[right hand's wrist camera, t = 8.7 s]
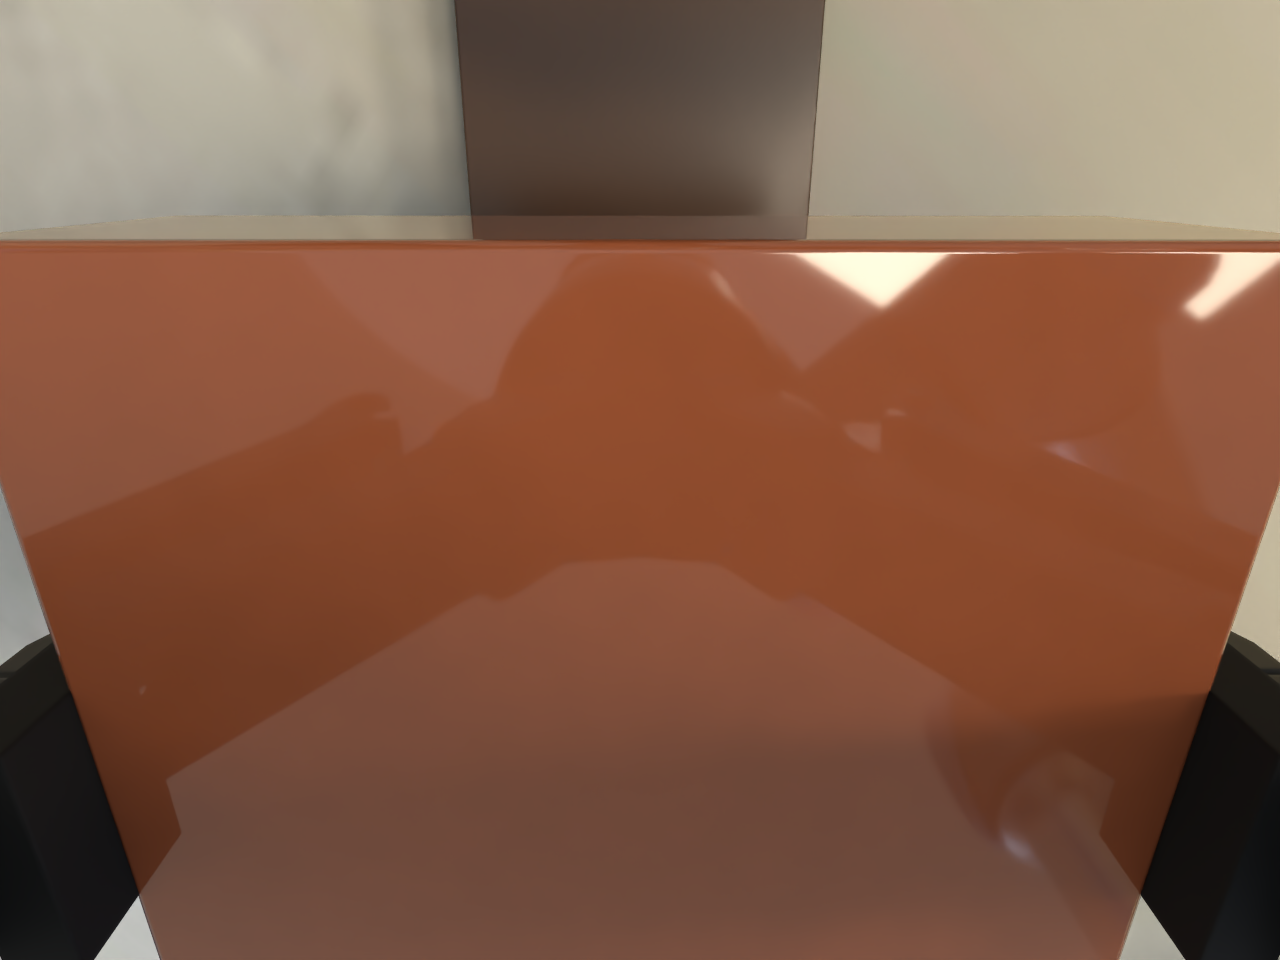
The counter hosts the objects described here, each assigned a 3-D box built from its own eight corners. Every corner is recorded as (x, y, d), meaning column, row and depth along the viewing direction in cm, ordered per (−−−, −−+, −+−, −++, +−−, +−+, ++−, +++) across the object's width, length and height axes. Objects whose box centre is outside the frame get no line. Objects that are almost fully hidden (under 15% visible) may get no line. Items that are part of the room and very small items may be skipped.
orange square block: (238, 208, 10) (-92, 239, 6) (1041, 208, 10) (1370, 239, 6) (351, 819, 15) (214, 1129, 10) (928, 820, 15) (1065, 1131, 10)
